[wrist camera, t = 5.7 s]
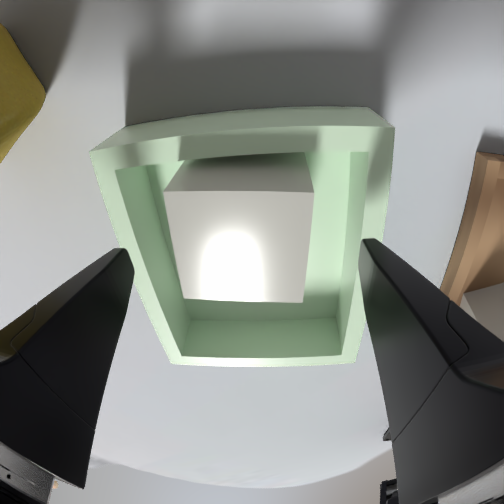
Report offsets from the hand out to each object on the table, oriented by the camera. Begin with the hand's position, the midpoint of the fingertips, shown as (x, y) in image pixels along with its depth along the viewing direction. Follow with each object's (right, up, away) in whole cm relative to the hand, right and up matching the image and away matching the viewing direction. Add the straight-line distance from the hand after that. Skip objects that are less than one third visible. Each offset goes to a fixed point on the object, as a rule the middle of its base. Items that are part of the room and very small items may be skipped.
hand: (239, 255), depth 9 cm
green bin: (0, +1, +5) cm, 5 cm away
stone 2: (0, +3, +3) cm, 4 cm away
